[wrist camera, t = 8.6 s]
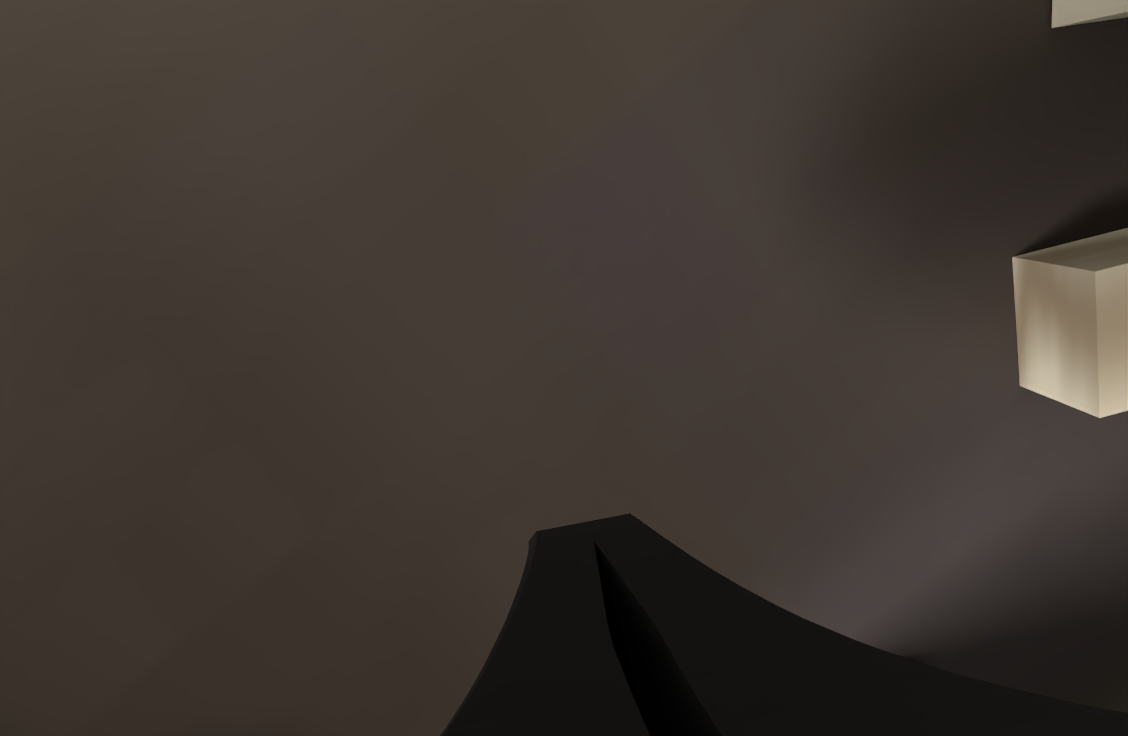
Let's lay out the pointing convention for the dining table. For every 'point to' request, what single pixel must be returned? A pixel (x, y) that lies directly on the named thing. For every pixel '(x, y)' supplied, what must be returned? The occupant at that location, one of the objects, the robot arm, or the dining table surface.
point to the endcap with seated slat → (1087, 11)
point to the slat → (1075, 322)
